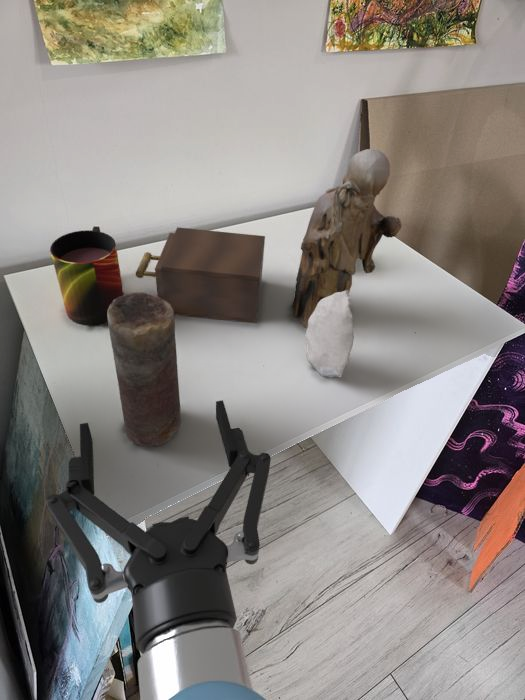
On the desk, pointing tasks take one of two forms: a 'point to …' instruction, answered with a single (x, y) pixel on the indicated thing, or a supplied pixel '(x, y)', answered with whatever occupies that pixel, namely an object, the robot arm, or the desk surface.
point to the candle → (146, 366)
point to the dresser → (213, 274)
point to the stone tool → (330, 335)
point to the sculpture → (343, 233)
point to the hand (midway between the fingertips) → (154, 419)
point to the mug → (87, 274)
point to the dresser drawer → (158, 274)
